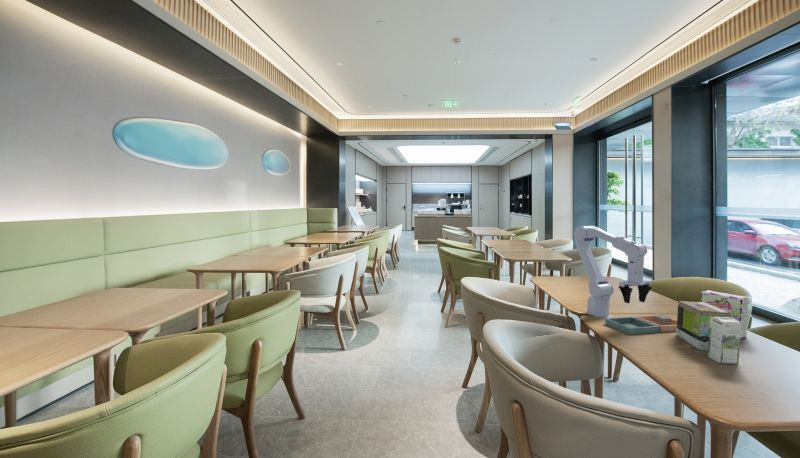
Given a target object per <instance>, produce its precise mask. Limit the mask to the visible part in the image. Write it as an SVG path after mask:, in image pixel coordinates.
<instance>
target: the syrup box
mask: <svg viewBox="0 0 800 458" xmlns="http://www.w3.org/2000/svg"><path fill="white" fill-rule="evenodd" d="M740 337H741V322H739V321H737V320H735V319H732V318H729V317H710V330H709V345H708V351H707V357H708V358H709V359H711V360H713V361H715V362H717V363H719V364H723V365H725V364H726V365H739V361H740V349H741V348H740V347H741V339H740Z"/></svg>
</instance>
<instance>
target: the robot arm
mask: <svg viewBox="0 0 800 458" xmlns="http://www.w3.org/2000/svg"><path fill="white" fill-rule="evenodd" d="M573 236H574V238H575V246H576V247H575V248H576V249H577V251H578V254H579V256H580V259H581V261H582V263H583V266H584V267H585V270H586V272H587V274H588V277H589V281H588V283H587V285H588V289H589V290H588V291H589V294H590V296H588V298H587V304H586V305H587V306H586V308H587V311H585V314H587V315H591V316H593V317H596V318H598V319H600V318H603V319H604V318H614V315H611V314H610V307H611V306H610V303H611V301H610V300H611V296H612V295H613V293H614V291H615V290H614V287H613V285H612V284H611V283H610V282H609V280H608V279H607V278H606V277H605V276H603V274H602V272H601V270H600V267H599V265H598V264H597V260H596V259H595V257H594V255H593V252H592V249H591V248H590V246H591V244H592V242H593V241H594V240H595V239H596V238H598V239H601V240H602V241H605V242H608V243H610V244H611V246H612V247H613V248H615V249H617V250H619V251H621V252H622V253H625V254H626V256H627V280H624V281H623V280H622V281H618V289H619V290H620V292H621V294H622V298H623V302H624V303H626V304H630V302H631V294H632V292H633V288H631V287H637V290H638V301H639V302H640V303H645V302H646V299H647V297H648V294H649V293H650V291H651V290H652V281H651V280H644V267H645V266H644V265H645V263H644V262H645V256H646V255H647V253H648V248H647V247H646V245H645V244H643V243H640V242H638V243H636V241H634V240H630V239H629V238H626V236H624V235H618V236H615V235H613V234H611V233H609V232H608V231H605V230H603V229H601V228H600V227H598V226H595V225H586V226H585V225H579V226H577V227H576V228H575V230H574V232H573Z"/></svg>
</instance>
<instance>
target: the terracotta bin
mask: <svg viewBox="0 0 800 458" xmlns="http://www.w3.org/2000/svg"><path fill="white" fill-rule="evenodd" d="M634 318H637V319H640V320H642V321H645V322H648V323H651V324H653V325H656V326H659V332H660V333H668V332H669V333H670V332H677V319H675V318H671V317H670V318H671V325H664V326H662V325H659V324H656V323H653V314H652V315H638V316H637V315H636V316H634Z"/></svg>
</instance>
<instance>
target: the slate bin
mask: <svg viewBox="0 0 800 458" xmlns="http://www.w3.org/2000/svg"><path fill="white" fill-rule="evenodd" d="M604 318H605V319H604V321H605V322H604V324H605V325H607V326H609V327H612V328H613V329H616V330H619V331H621V332H623V333H626V334H628V335H631V336H632V335H642V334H643V335H644V334H654V333H656V334H657V333H659V332H660V331H659V326H656V325H653V324H651V323H648V322H645V321H642V320H640V319H637V318H635V316H627V317H626V316H624V317H621V316H620V317H604Z"/></svg>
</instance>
